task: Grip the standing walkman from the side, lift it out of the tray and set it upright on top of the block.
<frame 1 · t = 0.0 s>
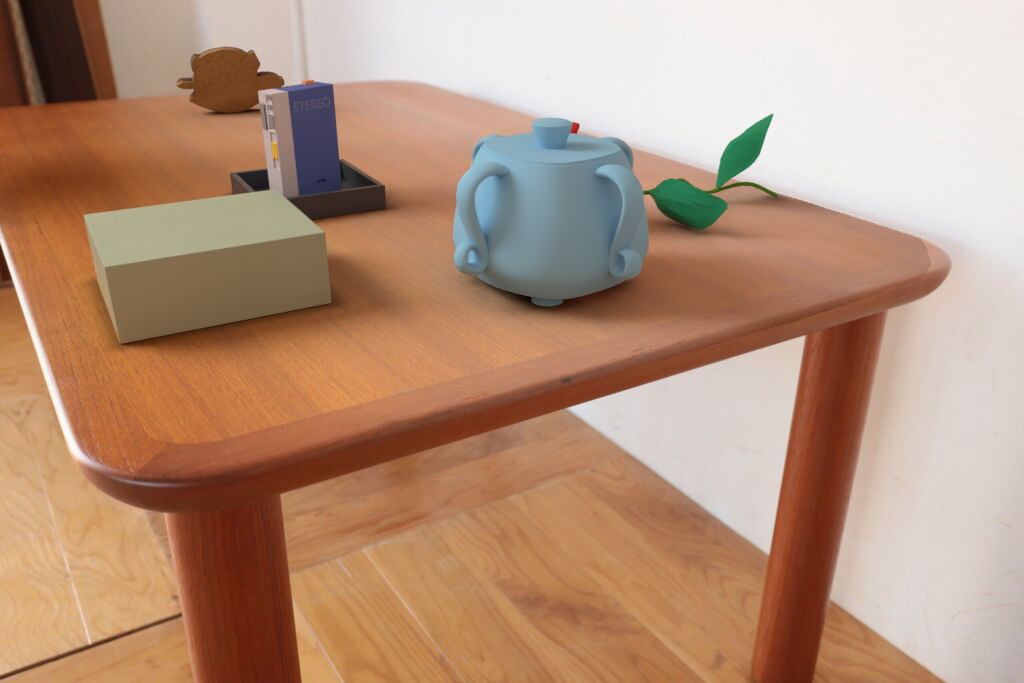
tray: (307, 201, 98), on the table
walkman: (307, 198, 98), resting on tray
decorative pot: (548, 281, 77), on the table
decorative flower: (669, 219, 93), on the table
block: (211, 292, 74), on the table
wooden carving: (234, 112, 144), on the table
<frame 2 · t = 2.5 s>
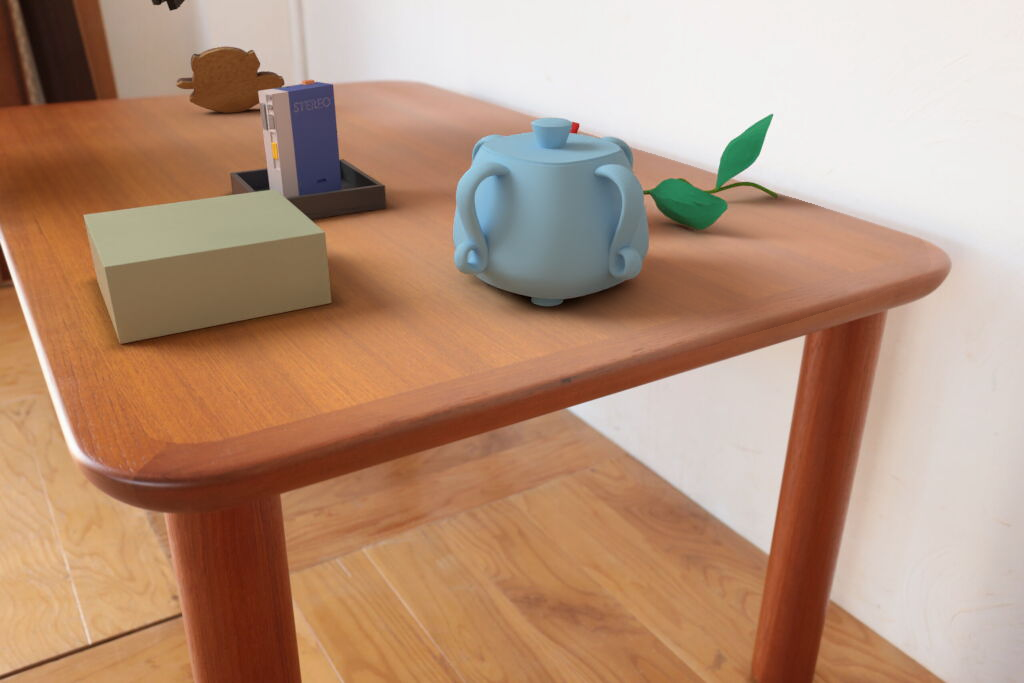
nothing on the table moved.
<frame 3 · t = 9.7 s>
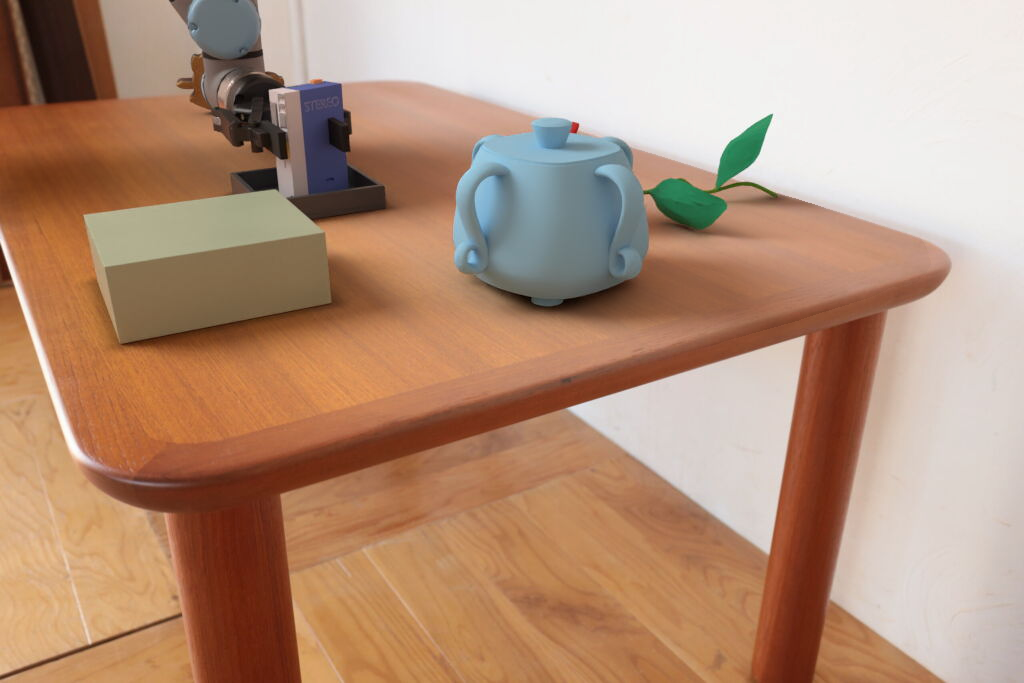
hand: (314, 142, 91), 7 cm above the table, tool horizontal, fingers closed on walkman, 6 cm apart
walkman: (315, 197, 98), resting on tray, touching gripper
everything else where it was.
when the fingers open (13 cm above the table, at t = 18.1 s): walkman stays where it is, resting on block.
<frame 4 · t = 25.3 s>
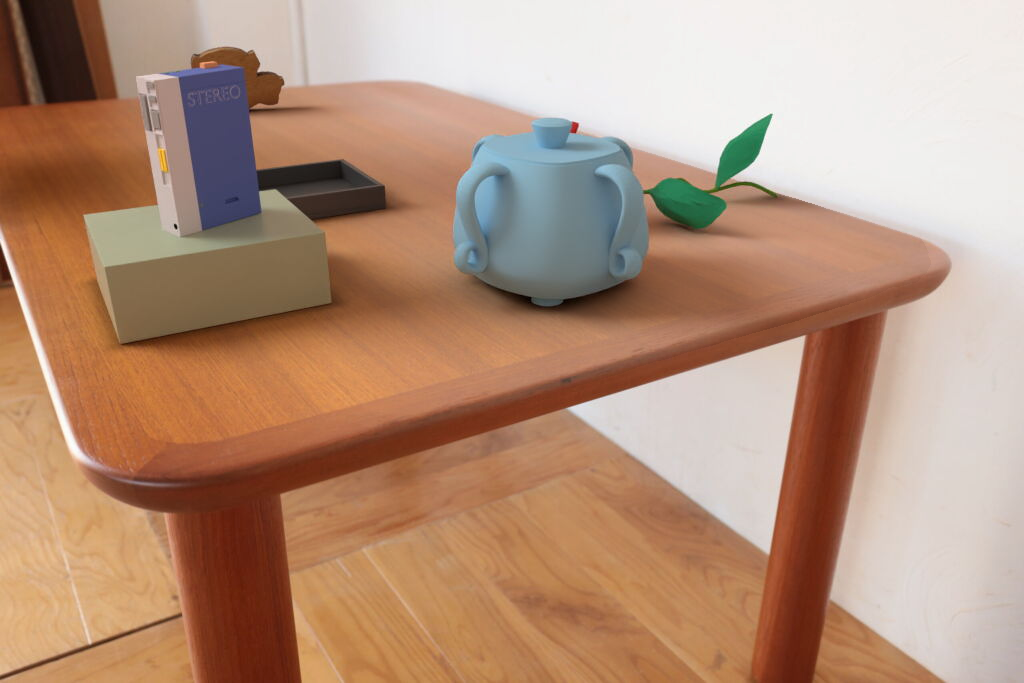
walkman: (213, 223, 72), point 6 cm above the table, touching block
everything else where it was.
at the end: walkman inside the target area on the block (1.0 cm from its centre), point 5.8 cm above the block's base; walkman tilted 0°; the gripper is holding nothing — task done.
